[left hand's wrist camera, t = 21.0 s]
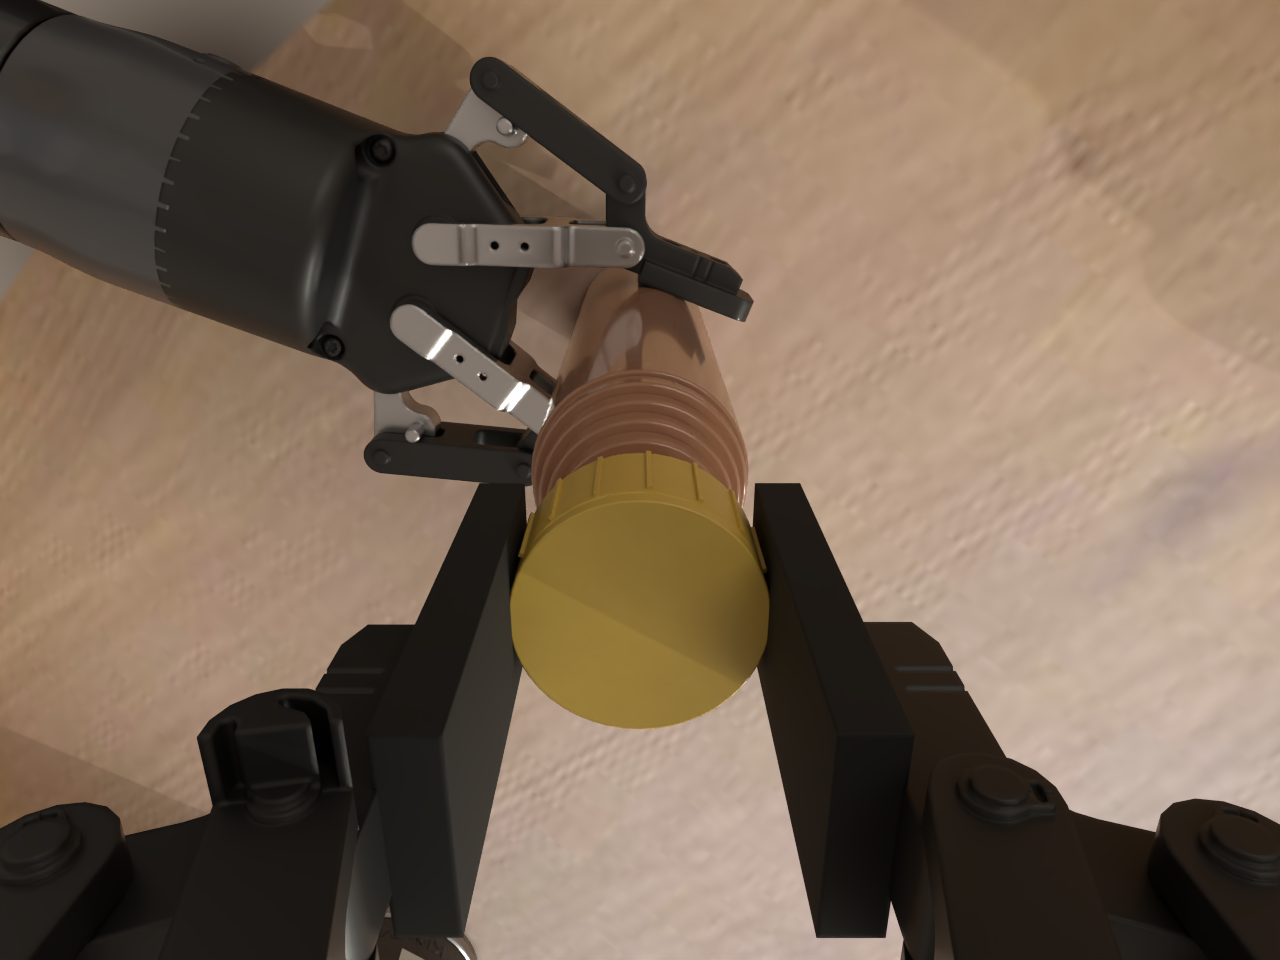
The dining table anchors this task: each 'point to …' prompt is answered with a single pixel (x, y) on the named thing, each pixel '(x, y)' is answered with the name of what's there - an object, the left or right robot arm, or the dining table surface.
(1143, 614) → the dining table surface
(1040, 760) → the dining table surface
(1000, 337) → the dining table surface
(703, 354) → the bottle
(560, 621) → the cap
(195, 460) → the dining table surface
